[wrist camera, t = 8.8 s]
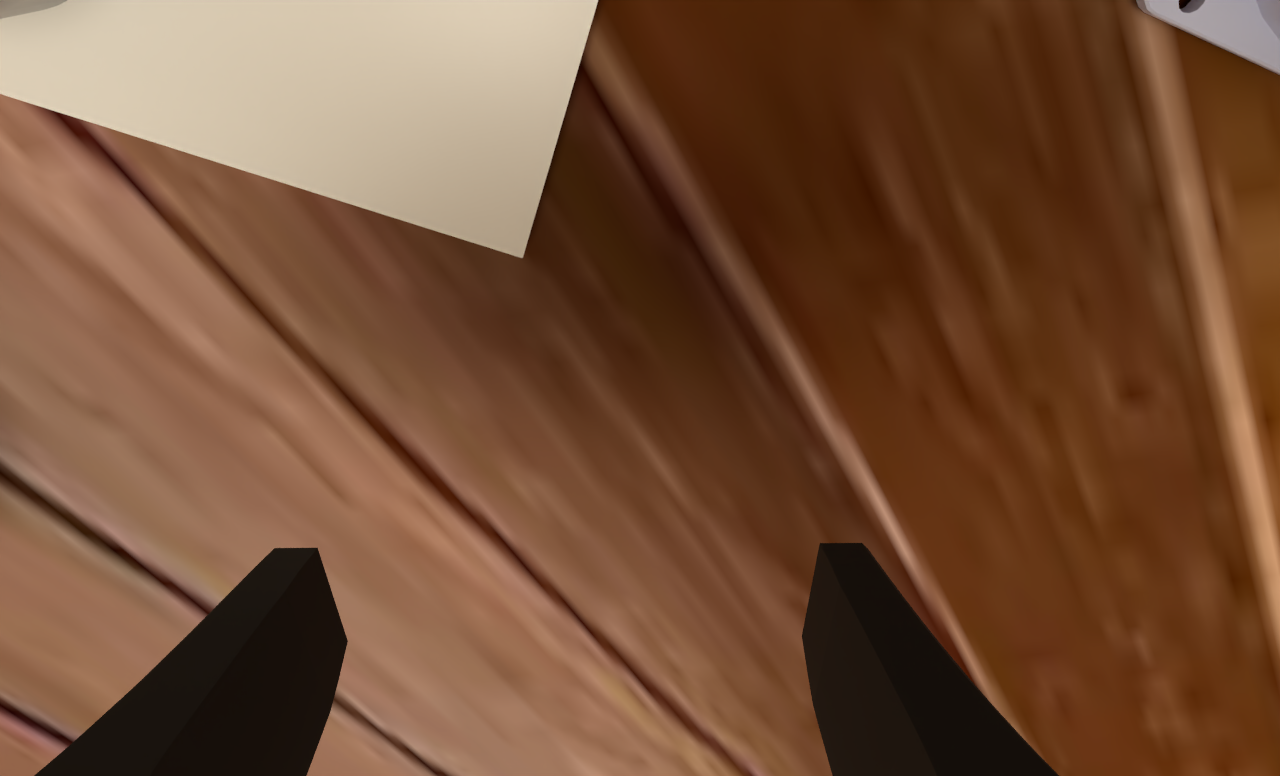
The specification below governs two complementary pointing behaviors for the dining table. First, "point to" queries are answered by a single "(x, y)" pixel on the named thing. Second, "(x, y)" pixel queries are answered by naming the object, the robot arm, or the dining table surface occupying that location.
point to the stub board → (325, 93)
